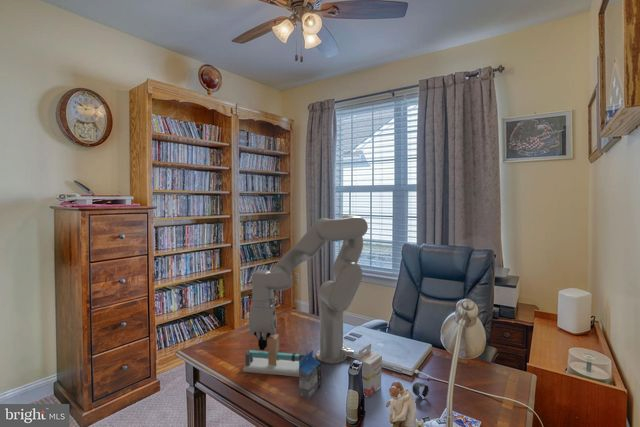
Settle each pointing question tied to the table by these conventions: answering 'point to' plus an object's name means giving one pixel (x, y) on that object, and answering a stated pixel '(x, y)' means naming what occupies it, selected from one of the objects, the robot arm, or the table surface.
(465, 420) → the table surface
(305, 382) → the label tape box
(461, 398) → the table surface
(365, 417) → the table surface
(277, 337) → the tan slotted box
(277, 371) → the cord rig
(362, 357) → the ink cartridge box
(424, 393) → the wristwatch
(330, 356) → the robot arm
